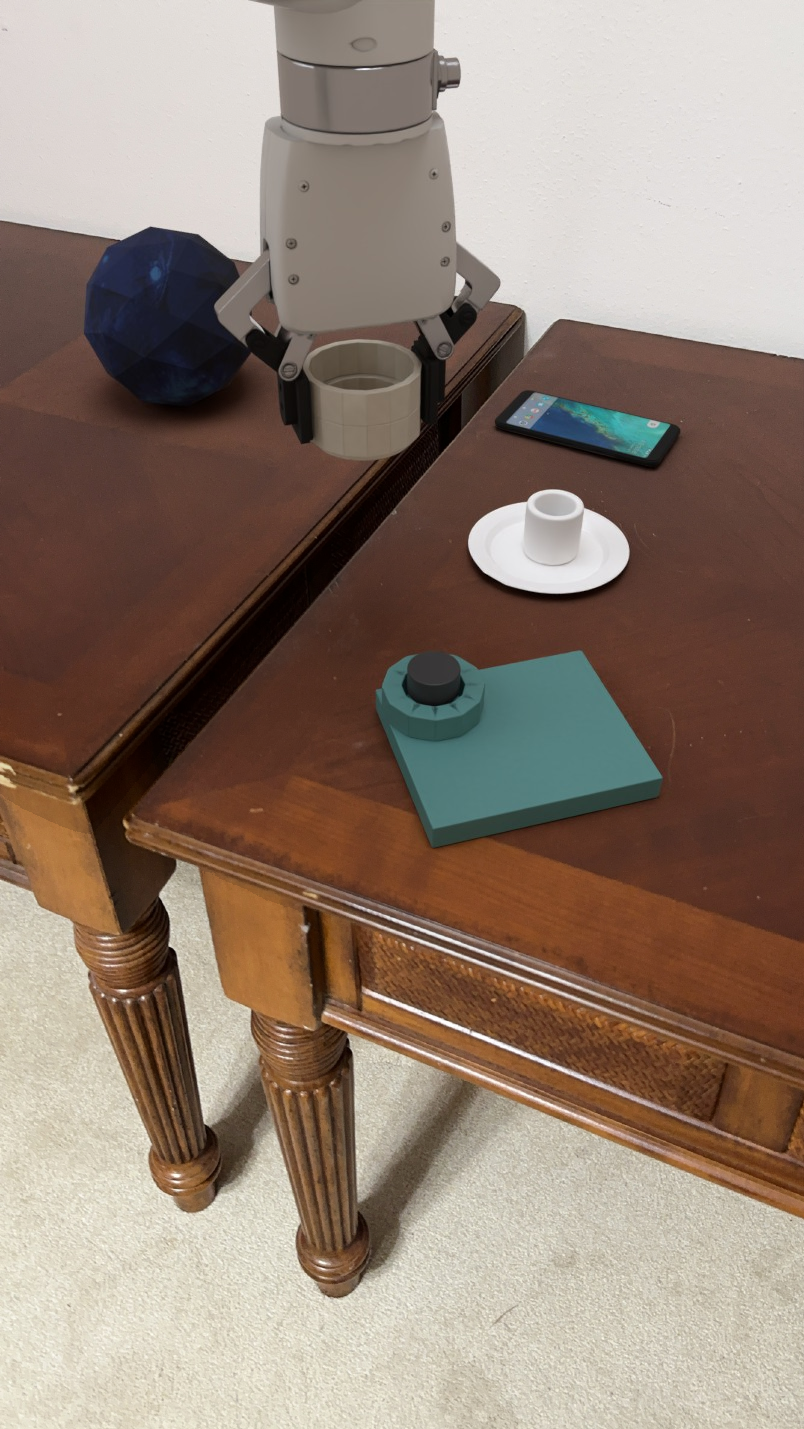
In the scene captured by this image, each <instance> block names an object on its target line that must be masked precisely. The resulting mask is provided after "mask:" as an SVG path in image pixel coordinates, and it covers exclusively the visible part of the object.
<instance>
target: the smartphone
mask: <svg viewBox="0 0 804 1429" xmlns="http://www.w3.org/2000/svg"><path fill="white" fill-rule="evenodd" d="M494 426H495V427H496V428H497V429H499V430H502V431H507V432H511V433H514V434H518V435H522V436H527V437H531V438H534V439H539V440H543V441H546V442H549V443H554V444H558V445H562V446H566V447H570V448H574V449H579V450H581V451H586V452H589V453H594V454H597V455H601V456H604V457H605V456H606V457H610V458H612V459H617V460H621V461H625V462H629V463H632V464H637V465H641V466H645V467H648V468H649V467H651V468H653V467H656V466H658V465H659V464H660V463H661V461H662V460H663V459H664V457H665V456H666V454H667V453H668V452H669V450H670V449H671V447H672V446H673V445H674V443H675V442H676V440H677V439H678V437H679V436H680V434H681V428H680V426H678V425H677V424H673V423H669V422H665V421H662V420H658V419H653V418H649V417H645V416H641V415H637V414H633V413H629V412H624V411H621V410H615V409H611V408H607V407H602V406H598V405H594V404H590V403H585V402H582V401H578V400H574V399H569V398H566V397H565V398H564V397H561V396H556V395H551V394H548V393H544V392H540V391H535V390H530V389H526V390H523V391H521V392H520V393H519V394H518V395H517V396H516V397H515V398H514V399H513V400H512V401H511V402H510V403H509V404H508V405H507V406H506V407H505V408H504V409H503V411H501V413H499V414H498V416H497V417H496V418H494Z"/></svg>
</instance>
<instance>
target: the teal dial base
mask: <svg viewBox="0 0 804 1429" xmlns="http://www.w3.org/2000/svg"><path fill="white" fill-rule="evenodd" d="M417 654H418V653H417ZM417 654H411V655H407V656H404V657H403V658H401V659H400V660H398V661H397V662H395V663H394V664H392V665H391V666H390V667H388V668H387V671H386V674H385V676H384V678H383V681H382V684H381V688H377V689H376V690H375V711H376V713H377V715H378V717H379V718H378V719H379V721H380V723H381V725H382V728H383V730H384V732H385V735H386V737H387V739H388V742H389V745H390V747H391V750H392V752H393V755H394V757H395V759H396V762H397V765H398V767H399V769H400V772H401V775H402V777H403V779H404V782H405V784H406V787H407V790H408V792H409V794H410V796H411V799H412V802H413V804H414V807H415V809H416V812H417V814H418V816H419V819H420V822H421V824H422V827H423V830H424V831H425V834H426V836H427V839H428V842H429V844H430V846H431V848H432V849H434V848H438V847H443V846H447V845H453V844H456V843H461V842H465V841H469V840H474V839H479V838H483V837H487V836H492V835H497V834H500V833H501V834H502V833H505V832H509V831H515V830H519V829H523V828H527V827H532V826H536V825H541V824H544V823H549V822H553V821H559V820H563V819H567V818H568V819H569V818H572V817H577V816H580V815H585V814H589V813H594V812H598V811H603V810H607V809H611V808H617V807H620V806H624V805H629V804H634V803H638V802H642V801H647V800H651V799H656V798H659V796H660V791H661V787H662V783H663V779H664V778H663V775H662V774H661V772H660V771H659V769H658V768H657V766H656V764H655V763H654V761H653V760H652V758H651V756H649V754H648V752H647V750H646V749H645V747H644V745H643V744H642V743H641V741H640V739H639V738H638V736H637V735H636V733H635V731H634V730H633V728H632V727H631V725H630V724H629V722H628V721H627V719H626V717H625V716H624V714H623V713H622V711H621V710H620V708H619V707H618V704H616V702H615V700H614V699H613V697H612V696H611V694H610V693H609V691H608V689H607V688H606V687H605V685H604V683H603V681H602V680H601V679H600V678H601V677H599V676H598V674H597V672H596V670H595V669H594V668H593V666H592V664H591V663H590V662H589V659H588V658H587V657H586V655H585V653H584V652H583V651H582V650H581V649H580V650H579V649H578V650H574V651H569V652H565V653H558V654H553V655H548V656H543V657H538V658H532V659H528V660H521V661H518V662H511V663H508V664H502V665H496V666H492V667H488V668H487V667H486V668H483V669H482V668H481V669H478V668H477V667H476V666H475V665H473V664H472V663H470V662H469V661H467V660H465V659H464V658H462V657H460V656H458V655H456V654H450V655H451V656H453V657H454V658H455V659H456V660H457V661H458V662H459V664H460V668H461V672H460V690H459V694H458V696H457V697H456V698H455V699H454V700H453V701H452V702H450V703H448V704H445V705H440V706H428V705H422V704H420V703H418V702H416V701H414V700H413V699H412V698H411V697H410V695H409V694H408V691H407V666H408V663H409V661H410V660H411V659H412V658H413V657H414V656H416V655H417Z"/></svg>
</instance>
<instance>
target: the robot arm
mask: <svg viewBox="0 0 804 1429" xmlns="http://www.w3.org/2000/svg"><path fill="white" fill-rule="evenodd" d="M249 1H250V2H255V3H259V4H263V5H268V6H272V7H273V15H274V17H273V18H274V32H275V33H274V34H275V45H276V46H275V47H276V61H277V63H276V64H277V79H278V94H279V96H278V97H279V110H280V115H276V116H272V117H269V118H268V119H267V120H266V121H265V122H264V129H263V135H262V143H261V157H260V170H259V171H260V172H259V248H260V249H259V252H260V253H259V254H260V255H259V256H258V257H257V258H256V260H254V261H253V263H251V264H250V266H248V268H247V269H246V270H245V271H244V272H243V273H242V274H241V275H240V277H239V279H238V280H237V281H236V282H235V283H234V284H233V285H232V286H231V287H230V288H229V289H228V290H227V291H226V292H225V293H224V294H223V295H222V296H221V297H220V299H219V300H218V301H217V302H216V303H215V305H214V311H215V313H216V316H217V318H218V320H219V322H220V323H221V324H222V325H223V326H224V327H225V328H226V329H227V330H228V331H229V332H231V333H232V334H233V335H234V336H235V337H236V338H237V339H238V340H239V341H241V342H242V343H243V344H244V345H245V346H246V347H247V348H248V349H249V351H250V352H251V354H252V355H253V356H255V357H256V358H257V359H259V360H260V361H261V362H263V363H264V364H265V365H266V366H268V367H270V369H272V371H274V372H275V373H276V378H277V380H276V381H277V393H278V406H279V414H280V418H281V421H282V423H283V425H284V426H285V427H286V426H291V427H292V429H293V430H294V433H295V435H296V437H297V439H298V441H299V443H300V444H301V445H305V444H311V441H310V440H313V428H312V410H311V391H310V382H309V379H308V377H307V375H306V373H305V372H304V370H303V364H304V362H305V360H306V358H307V355H308V354H310V351H311V348H312V346H313V344H314V342H315V340H316V338H317V335H318V334H326V333H336V332H344V331H350V330H351V331H353V330H360V329H366V328H367V329H368V328H375V327H383V326H390V325H398V324H407V323H412V322H413V324H414V326H415V328H416V330H417V332H418V334H419V336H417V339H415V340H413V345H411V346H410V351H412V352H414V353H415V354H416V355H417V357H418V358H419V359H420V361H421V362H422V395H421V396H422V398H421V422H423V424H426V425H427V426H431V425H437V424H438V419H439V417H438V416H439V404H442V403H444V402H445V398H446V373H447V372H446V370H447V369H446V368H447V360H448V359H450V358H451V357H452V356H453V354H454V352H455V345H456V344H458V342H459V341H460V340H461V339H462V338H463V336H465V334H466V333H468V331H469V330H470V329H471V328H472V327H473V326H474V324H475V323H476V321H477V318H478V314H479V313H480V312H481V311H483V309H484V308H485V307H486V306H487V305H488V303H489V302H490V301H491V300H492V299H493V297H494V296H495V295H496V294H497V292H498V291H499V289H500V288H501V278H499V276H498V275H497V274H496V273H495V272H494V271H493V270H492V269H491V268H490V267H489V266H488V265H486V264H485V262H483V261H482V260H480V259H479V258H478V257H477V256H476V255H474V254H473V253H472V252H471V251H470V250H468V249H467V248H466V247H464V246H463V245H462V244H461V243H460V242H459V241H457V227H456V224H457V223H456V206H455V194H454V185H453V184H454V183H453V175H452V165H451V157H450V156H451V155H450V149H449V144H448V143H449V142H448V137H447V131H446V126H445V121H444V119H443V118H442V116H441V115H440V114H439V113H438V111H437V109H438V99H439V95H440V93H444V92H446V90H448V89H449V90H450V89H459V87H460V84H461V78H462V70H461V64H460V63H461V62H460V60H459V58H458V57H456V56H455V57H445V56H444V55H442V54H441V55H439V51H438V50H437V49H436V48H434V46H435V15H436V14H435V13H436V12H435V11H436V10H435V9H436V0H249ZM457 274H458V275H459V276H460V277H461V278H463V279H464V284H463V286H462V288H461V289H460V293H459V294H458V295H456V296H455V294H456V287H457V286H456V285H457ZM264 298H265V301H267V304H269V303H270V304H272V305H274V306H275V307H276V312H277V317H278V321H279V322H278V325H277V327H276V329H275V332H274V334H273V333H271V332H270V331H269V330H268V329H266V327H264V326H263V325H261V324H260V323H259V322H258V321H256V320H255V319H254V318H253V316H252V317H251V316H250V312H251V311H252V312H253V309H254V308H255V307H256V306H257V305H258V304H259V303H260V302H261V301H262V300H263V299H264Z"/></svg>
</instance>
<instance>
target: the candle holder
mask: <svg viewBox="0 0 804 1429" xmlns="http://www.w3.org/2000/svg"><path fill="white" fill-rule="evenodd" d="M629 545H630V544H629V543H628V540H627V537H626V536H625V534H624V533H623V531H622V530H621V529H620V528H619V527H618V526H617V525H616V524H615V523H614V522H612V521H611V520H610V519H608V518H606V517H605V516H603V515H601V514H600V513H598V512H595V511H593V510H591V509H588V508H586V507H585V505H584V502H583V501H582V499H581V497H579V496H577V495H576V494H575V493H572V492H570V491H567V490H562V489H554V488H553V489H551V488H550V489H544V490H539V491H537V492H534V493H533V494H532V495H531V496H529V498H527V501H522V502H515V503H511V504H508V505H504V506H502V507H499V508H497V509H494V510H492V511H490V512H488V513H487V514H485V515H483V516H482V517H481V518H480V519H479V520H478V521H477V522H476V523H475V524H474V525H473V526H472V528H471V530H470V531H469V535H468V540H467V546H468V551H469V553H470V556H471V558H472V559H473V562H474V563H475V564H476V565H477V567H479V569H480V570H481V571H482V573H484V574H486V575H488V576H489V577H491V578H492V579H494V580H496V581H498V582H499V583H501V584H503V585H505V586H508V587H511V588H514V589H518V590H524V591H528V592H534V593H540V594H550V595H551V594H552V595H554V594H555V595H559V594H560V595H562V594H573V593H580V592H584V591H589V590H593V589H595V588H598V587H601V586H603V585H605V584H608V583H609V582H611V581H612V580H613V579H615V578H617V577H618V576H619V575H620V574H621V573H622V571H624V569H625V567H626V566H627V564H628V561H629V560H630V547H629Z"/></svg>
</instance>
